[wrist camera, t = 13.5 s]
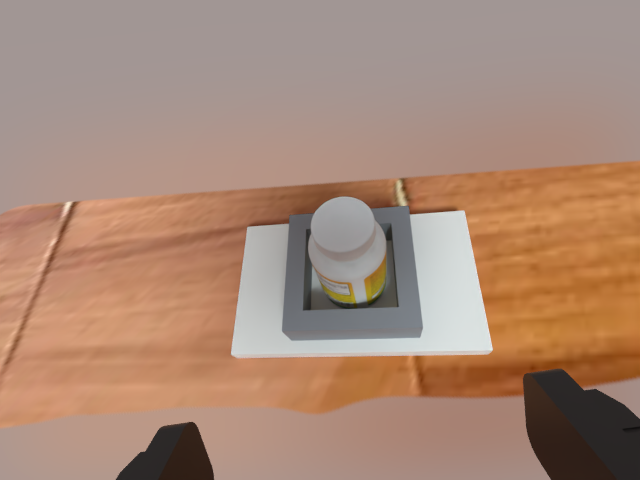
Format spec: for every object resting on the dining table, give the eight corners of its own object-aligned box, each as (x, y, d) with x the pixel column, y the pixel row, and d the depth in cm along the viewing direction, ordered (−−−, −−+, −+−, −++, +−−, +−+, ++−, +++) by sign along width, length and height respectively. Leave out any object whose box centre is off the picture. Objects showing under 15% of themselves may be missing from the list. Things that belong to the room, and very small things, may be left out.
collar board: (461, 219, 33) (470, 190, 29) (488, 354, 27) (504, 340, 24) (252, 234, 36) (235, 209, 32) (237, 358, 31) (215, 346, 27)
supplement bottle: (331, 319, 29) (307, 273, 21) (317, 262, 32) (291, 200, 24) (395, 302, 29) (397, 248, 21) (376, 245, 32) (371, 177, 23)
